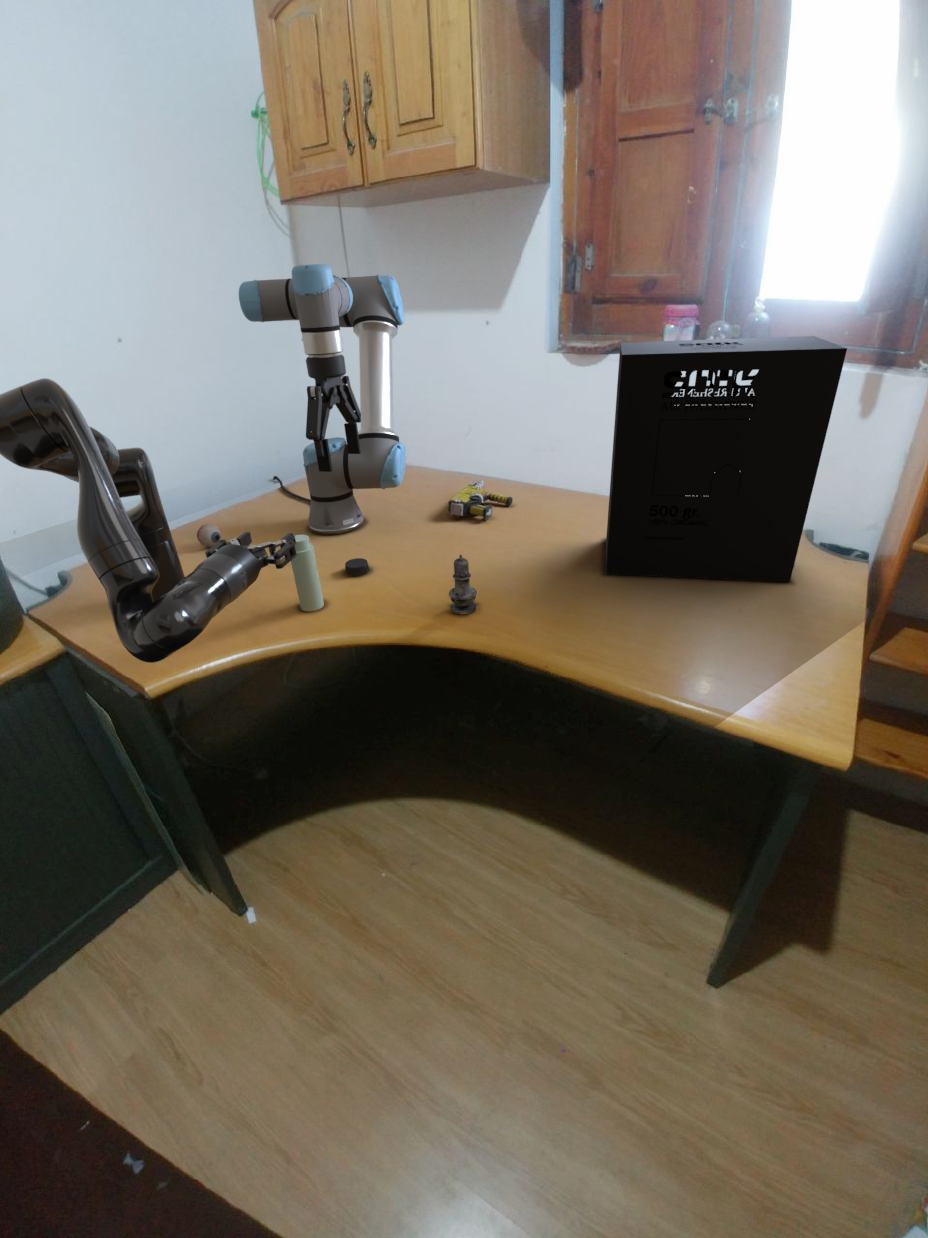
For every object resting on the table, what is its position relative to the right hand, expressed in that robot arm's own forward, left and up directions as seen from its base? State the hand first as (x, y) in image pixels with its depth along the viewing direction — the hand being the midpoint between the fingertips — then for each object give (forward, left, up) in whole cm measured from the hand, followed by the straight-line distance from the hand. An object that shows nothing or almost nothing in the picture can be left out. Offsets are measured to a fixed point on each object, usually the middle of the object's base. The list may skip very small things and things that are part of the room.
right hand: (340, 462), depth 130 cm
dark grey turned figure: (+32, +8, -26) cm, 42 cm away
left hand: (+16, -23, -6) cm, 29 cm away
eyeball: (-40, -22, -26) cm, 53 cm away
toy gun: (-13, +49, -26) cm, 57 cm away
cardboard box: (+48, +61, -26) cm, 82 cm away
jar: (+9, -16, -26) cm, 32 cm away
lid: (0, 0, -24) cm, 24 cm away
